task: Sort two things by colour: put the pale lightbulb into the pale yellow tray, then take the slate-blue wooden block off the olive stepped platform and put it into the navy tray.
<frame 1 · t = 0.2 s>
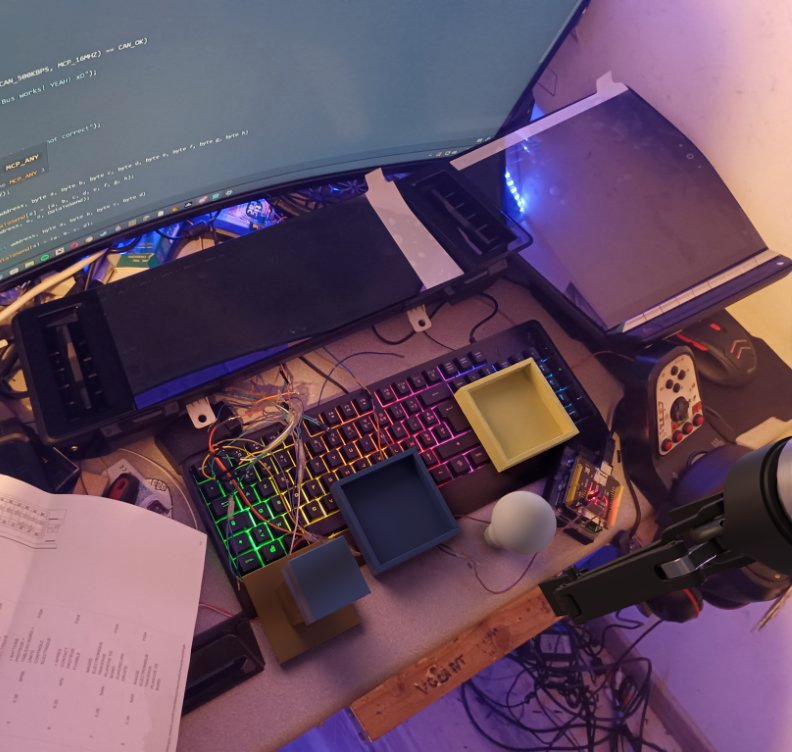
hand: (617, 561, 58), 20 cm above the table, tool pointing down, fingers open, 13 cm apart
navy tray: (390, 513, 77), on the table
blue block: (319, 585, 62), point 12 cm above the table, touching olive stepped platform
lightbulb: (491, 538, 78), on the table
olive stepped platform: (299, 600, 72), on the table
pale tray: (510, 417, 84), on the table
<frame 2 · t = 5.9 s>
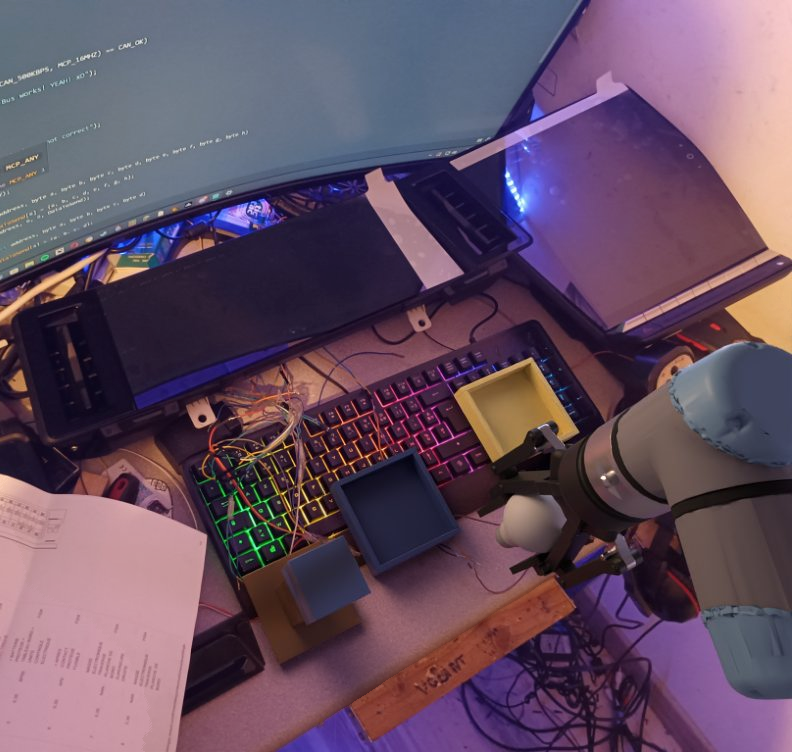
hand: (505, 537, 75), 3 cm above the table, tool pointing down, fingers closed on lightbulb, 6 cm apart
lightbulb: (502, 538, 75), point 3 cm above the table, touching gripper
everything else where it was.
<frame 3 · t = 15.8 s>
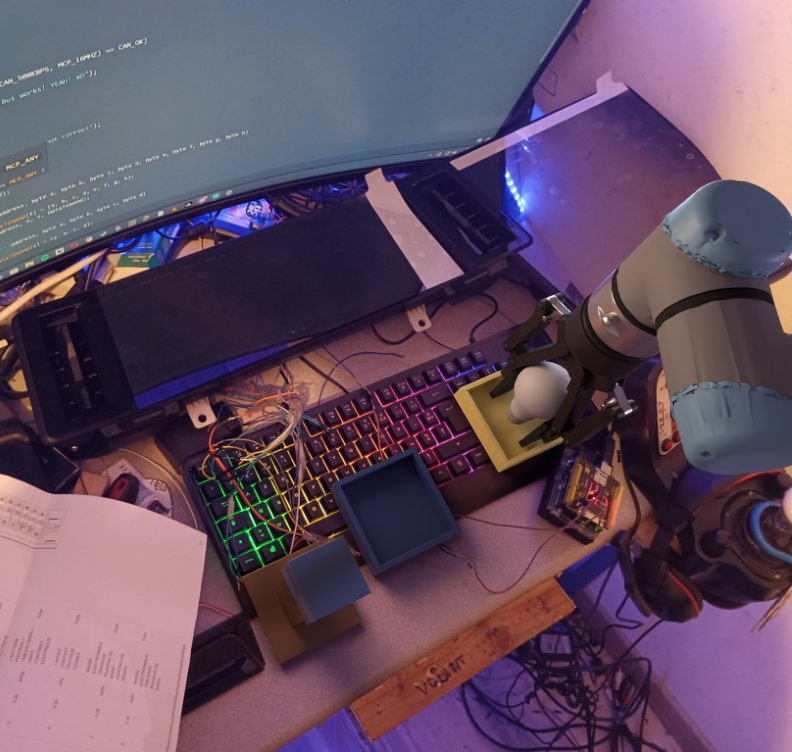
hand: (514, 415, 83), 1 cm above the table, tool pointing down, fingers closed on lightbulb, 6 cm apart
lightbulb: (512, 417, 83), point 1 cm above the table, touching gripper
everything else where it was.
when the fingers open (2 cm above the table, at t = 18.4 s): lightbulb stays where it is, resting on pale tray.
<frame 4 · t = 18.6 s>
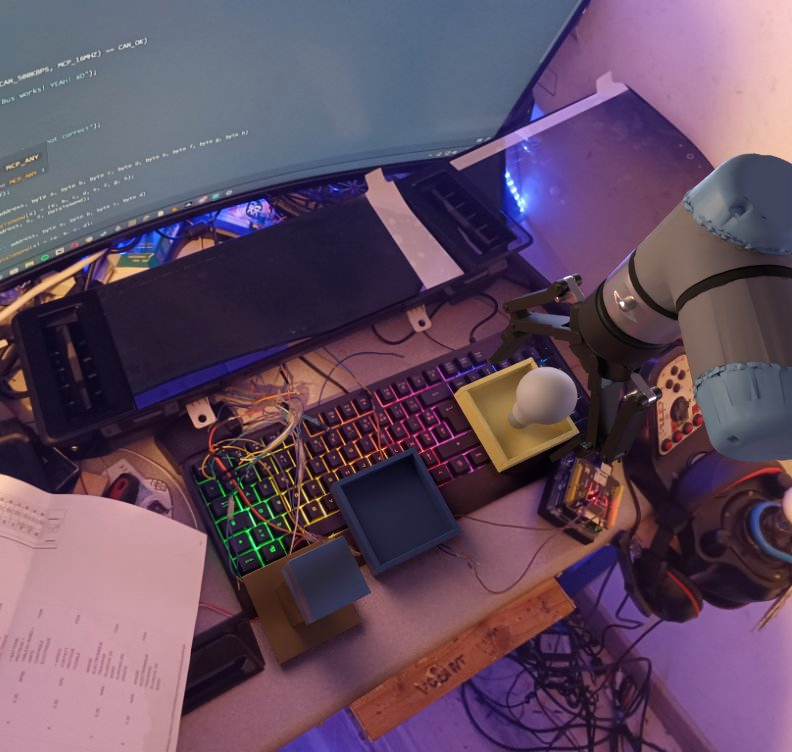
hand: (529, 405, 79), 5 cm above the table, tool pointing down, fingers open, 12 cm apart
lightbulb: (514, 421, 83), resting on pale tray
everything else where it was.
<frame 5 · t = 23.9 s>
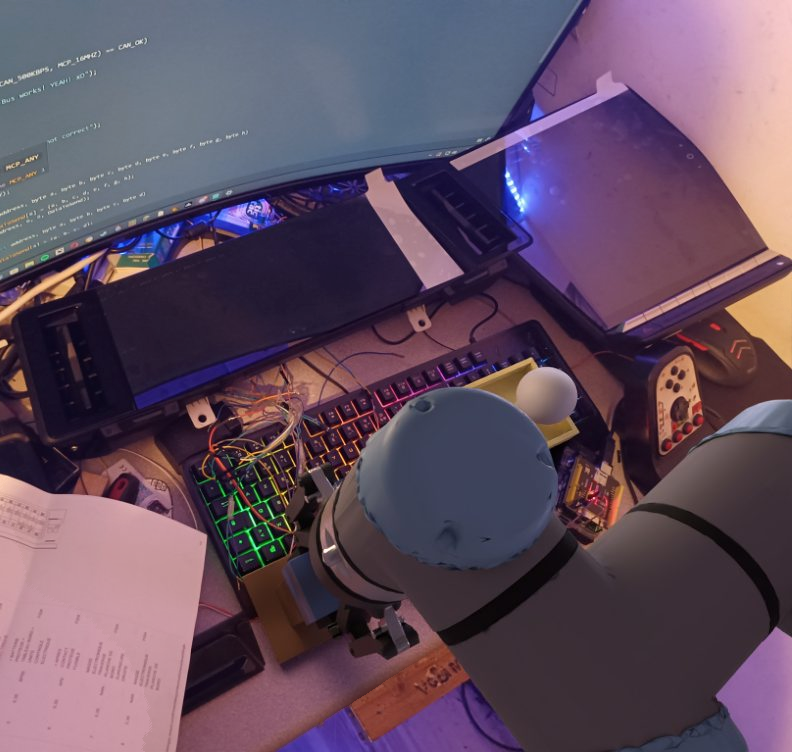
hand: (316, 587, 63), 10 cm above the table, tool pointing down, fingers closed on blue block, 5 cm apart
blue block: (319, 585, 62), point 12 cm above the table, touching gripper, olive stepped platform
everything else where it was.
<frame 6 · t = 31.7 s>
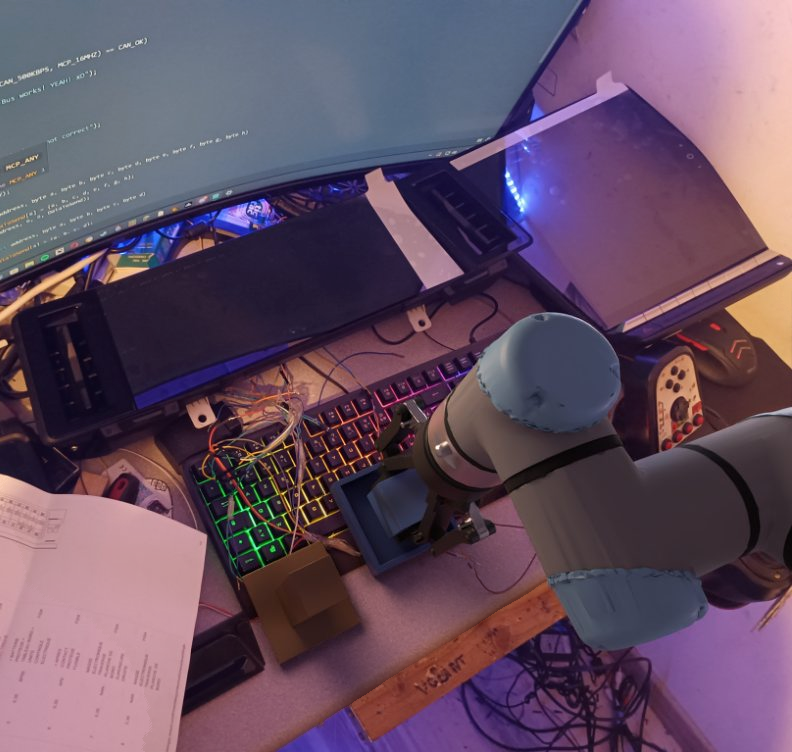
hand: (394, 511, 76), 1 cm above the table, tool pointing down, fingers closed on blue block, 5 cm apart
blue block: (398, 507, 75), point 3 cm above the table, touching gripper
everything else where it was.
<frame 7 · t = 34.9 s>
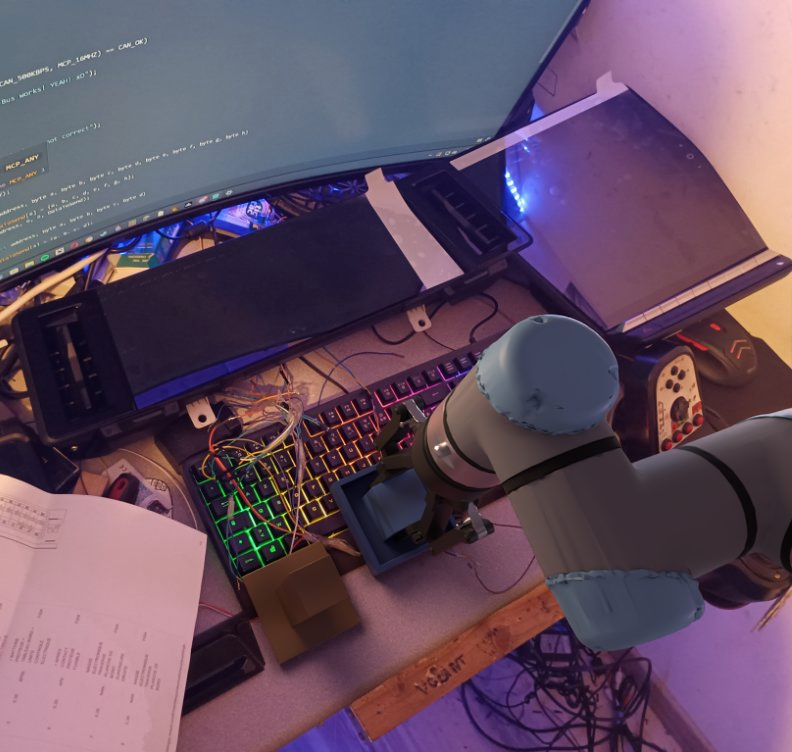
hand: (392, 510, 77), 1 cm above the table, tool pointing down, fingers closed on blue block, 5 cm apart
blue block: (391, 510, 77), point 1 cm above the table, touching gripper, navy tray
everything else where it was.
when the fingers open (2 cm above the table, at t = 36.1 s): blue block stays where it is, resting on navy tray.
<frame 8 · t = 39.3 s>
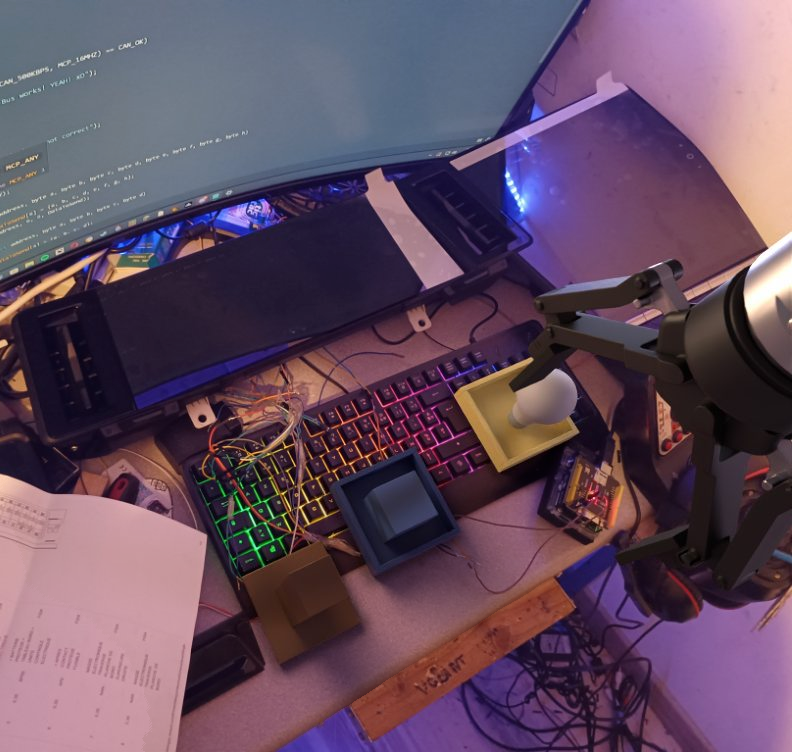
hand: (576, 463, 51), 29 cm above the table, tool pointing down, fingers open, 13 cm apart
blue block: (392, 512, 77), point 1 cm above the table, touching navy tray
everything else where it was.
at the end: lightbulb inside the target area in the pale tray (0.7 cm from its centre), point 0.4 cm above the pale tray's base; lightbulb tilted 0°; blue block inside the target area in the navy tray (0.1 cm from its centre), point 0.6 cm above the navy tray's base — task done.
